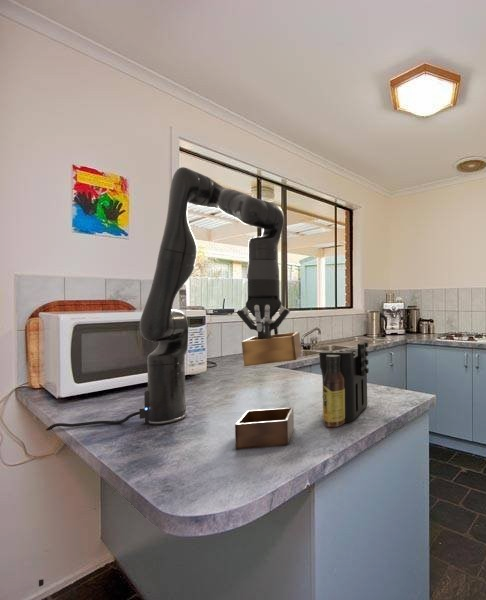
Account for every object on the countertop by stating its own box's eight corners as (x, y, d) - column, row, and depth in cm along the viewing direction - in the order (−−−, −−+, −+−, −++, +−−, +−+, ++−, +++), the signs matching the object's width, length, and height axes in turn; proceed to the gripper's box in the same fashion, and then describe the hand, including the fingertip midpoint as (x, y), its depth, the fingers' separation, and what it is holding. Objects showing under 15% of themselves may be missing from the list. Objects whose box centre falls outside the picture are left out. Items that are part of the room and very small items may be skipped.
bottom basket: (235, 449, 78) (235, 424, 78) (247, 432, 88) (247, 410, 88) (287, 444, 80) (287, 420, 80) (293, 429, 90) (293, 407, 90)
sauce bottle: (324, 420, 96) (323, 353, 96) (346, 419, 97) (345, 352, 97) (321, 429, 90) (320, 356, 89) (344, 428, 90) (343, 356, 90)
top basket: (244, 366, 78) (239, 324, 78) (255, 358, 88) (251, 321, 88) (295, 360, 80) (291, 319, 80) (301, 353, 90) (297, 316, 90)
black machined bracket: (318, 423, 94) (317, 347, 94) (344, 401, 114) (343, 338, 114) (358, 425, 92) (356, 347, 92) (377, 402, 112) (376, 338, 112)
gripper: (292, 279, 89) (293, 343, 89) (240, 279, 86) (241, 345, 86) (288, 277, 81) (288, 347, 81) (231, 277, 79) (231, 349, 79)
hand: (264, 346), depth 84 cm, fingers closed
